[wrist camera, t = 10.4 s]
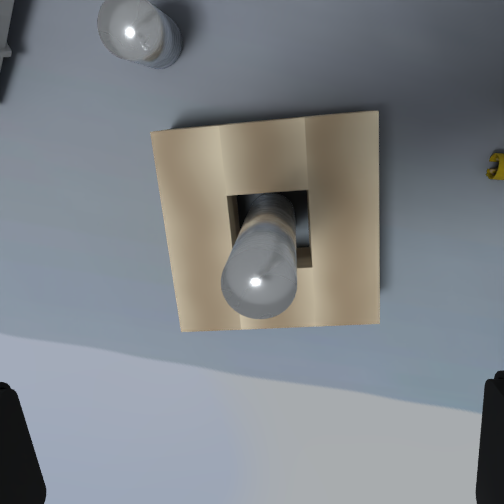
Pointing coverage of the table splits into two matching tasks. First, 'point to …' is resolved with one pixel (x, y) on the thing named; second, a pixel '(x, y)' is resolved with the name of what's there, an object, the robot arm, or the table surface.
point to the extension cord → (500, 173)
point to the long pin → (263, 260)
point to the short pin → (139, 33)
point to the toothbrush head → (5, 28)
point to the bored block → (265, 181)
